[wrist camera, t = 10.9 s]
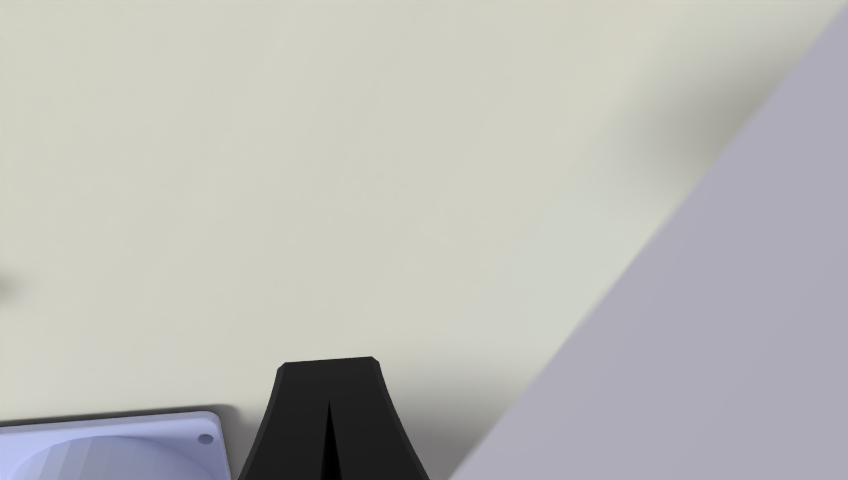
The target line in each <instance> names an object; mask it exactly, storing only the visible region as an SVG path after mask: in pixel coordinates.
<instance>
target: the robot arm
mask: <svg viewBox="0 0 848 480" xmlns="http://www.w3.org/2000/svg"><path fill="white" fill-rule="evenodd" d="M203 434H209V435H203ZM0 480H231V475H230V470H229V464H228V459H227V454H226V449H225V444H224V438H223V433H222V428H221V423H220V419H219V417H218V416H217V415H216V414H214V413H212V412H209V411H198V412H186V413H173V414H160V415H148V416H135V417H123V418H110V419H98V420H85V421H72V422H60V423H47V424H35V425H22V426H9V427H0ZM238 480H430V479H429V477H428V475H427V474H426V472H425V470H424V468H423V466H422V464H421V462H420V460H419V458H418V457H417V455H416V453H415V451H414V449H413V447H412V445H411V443H410V441H409V439H408V437H407V435H406V433H405V431H404V428H403V426H402V424H401V422H400V419H399V417H398V415H397V413H396V410H395V408H394V406H393V403H392V401H391V398H390V396H389V393H388V390H387V387H386V385H385V381H384V378H383V375H382V372H381V368H380V364H379V362H378V361H377V360H376V359H374V358H373V357H372V356H371V357H357V358H343V359H329V360H314V361H300V362H286V363H284V364H283V365H282V366H281V367H279V368H278V369H277V374H276V378H275V383H274V386H273V390H272V393H271V397H270V400H269V403H268V406H267V409H266V412H265V415H264V418H263V420H262V423H261V426H260V428H259V431H258V433H257V436H256V439H255V441H254V444H253V446H252V449H251V451H250V453H249V456H248V458H247V460H246V462H245V465H244V467H243V469H242V472H241V474H240V476H239V478H238Z"/></svg>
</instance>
